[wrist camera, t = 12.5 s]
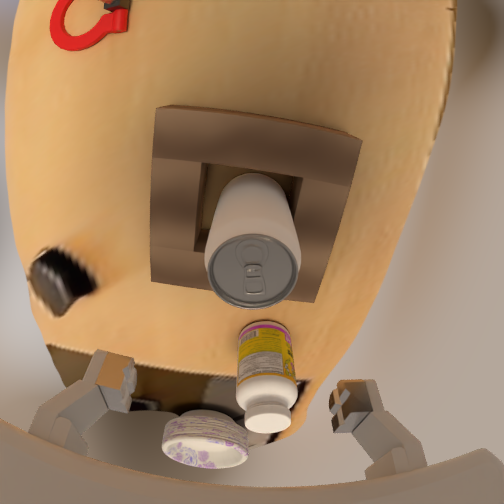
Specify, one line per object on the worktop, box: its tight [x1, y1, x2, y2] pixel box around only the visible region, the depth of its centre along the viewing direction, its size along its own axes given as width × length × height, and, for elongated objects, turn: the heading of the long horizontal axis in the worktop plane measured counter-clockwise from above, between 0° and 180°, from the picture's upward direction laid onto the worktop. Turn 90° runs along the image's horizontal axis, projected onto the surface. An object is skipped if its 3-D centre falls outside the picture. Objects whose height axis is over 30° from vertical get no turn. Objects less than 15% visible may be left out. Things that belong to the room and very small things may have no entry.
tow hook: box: [50, 0, 130, 51], centre depth 13 cm, size 8×13×9 cm
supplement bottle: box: [236, 321, 297, 433], centre depth 32 cm, size 7×7×13 cm
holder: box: [150, 105, 362, 303], centre depth 27 cm, size 16×16×4 cm
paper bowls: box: [162, 410, 248, 468], centre depth 47 cm, size 15×15×8 cm
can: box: [204, 173, 301, 310], centre depth 24 cm, size 6×6×12 cm
